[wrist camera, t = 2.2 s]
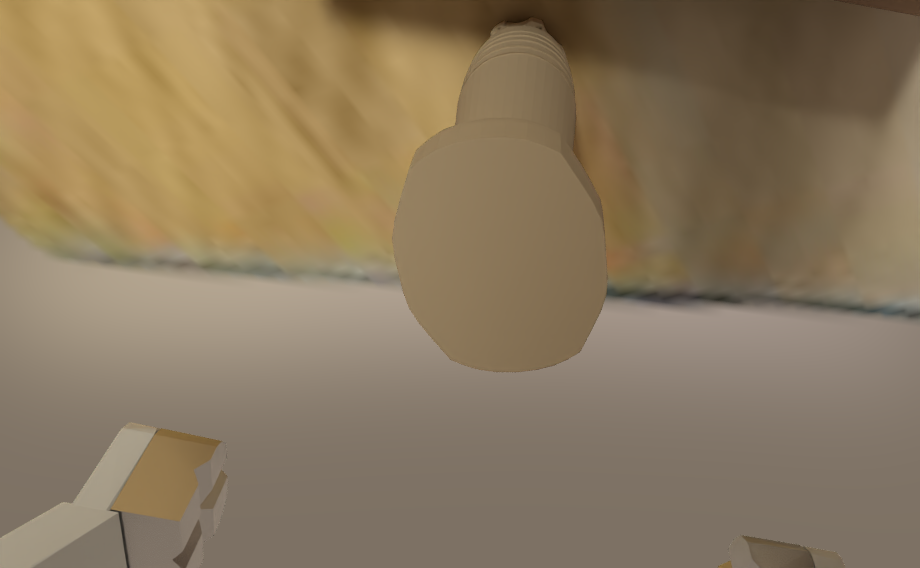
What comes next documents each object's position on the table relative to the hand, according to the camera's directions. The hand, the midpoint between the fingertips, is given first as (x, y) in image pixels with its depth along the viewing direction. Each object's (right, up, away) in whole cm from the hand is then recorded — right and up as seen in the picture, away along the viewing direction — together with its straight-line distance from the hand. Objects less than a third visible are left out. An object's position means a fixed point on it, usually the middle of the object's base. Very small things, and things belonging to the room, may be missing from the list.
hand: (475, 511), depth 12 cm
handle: (+2, +13, +18) cm, 22 cm away
